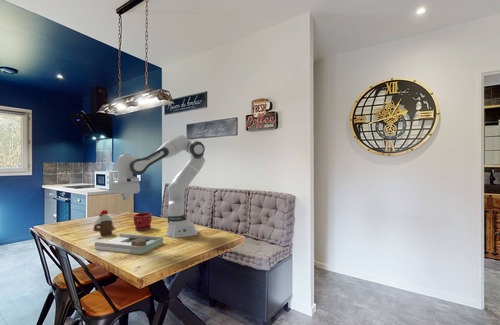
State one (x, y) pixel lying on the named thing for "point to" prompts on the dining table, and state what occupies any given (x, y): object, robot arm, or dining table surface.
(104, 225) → the mug
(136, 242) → the block
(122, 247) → the white board with recesses
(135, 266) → the dining table surface
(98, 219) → the kitchen timer
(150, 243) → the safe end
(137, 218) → the plant pot
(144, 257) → the dining table surface
